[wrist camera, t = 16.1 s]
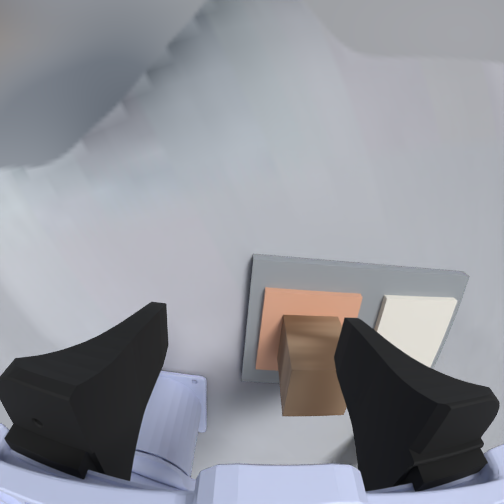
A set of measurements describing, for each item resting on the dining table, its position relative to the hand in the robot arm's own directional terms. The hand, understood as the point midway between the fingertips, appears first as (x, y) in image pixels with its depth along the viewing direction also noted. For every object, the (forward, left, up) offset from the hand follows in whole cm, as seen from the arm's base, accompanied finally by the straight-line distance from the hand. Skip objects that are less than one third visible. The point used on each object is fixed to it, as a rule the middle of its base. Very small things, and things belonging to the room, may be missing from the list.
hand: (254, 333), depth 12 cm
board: (+9, -6, -10) cm, 15 cm away
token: (+4, -6, -9) cm, 12 cm away
